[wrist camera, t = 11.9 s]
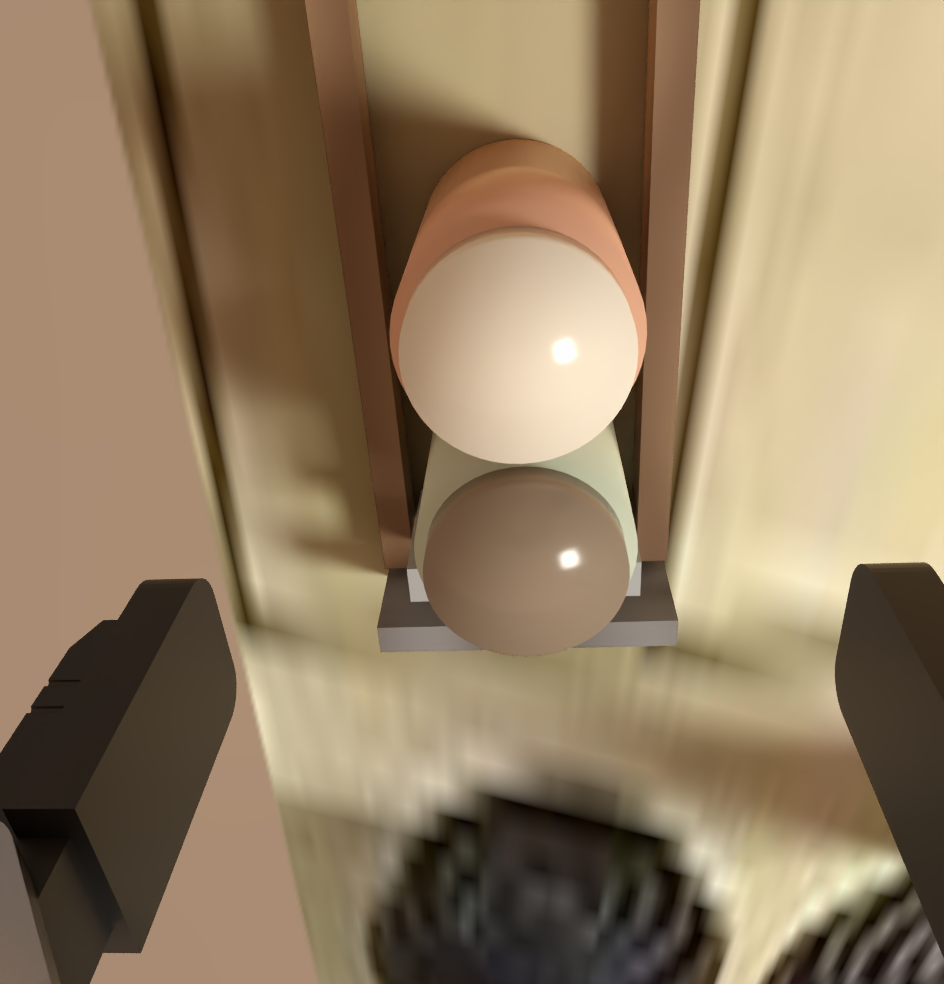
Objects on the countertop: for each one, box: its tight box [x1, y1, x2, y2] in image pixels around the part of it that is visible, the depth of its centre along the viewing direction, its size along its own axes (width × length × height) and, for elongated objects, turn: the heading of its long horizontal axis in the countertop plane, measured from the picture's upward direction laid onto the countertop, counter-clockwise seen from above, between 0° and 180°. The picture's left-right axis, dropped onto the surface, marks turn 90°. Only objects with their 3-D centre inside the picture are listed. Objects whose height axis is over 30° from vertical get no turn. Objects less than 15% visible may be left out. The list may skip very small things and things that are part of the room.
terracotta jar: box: [389, 139, 647, 464], centre depth 21 cm, size 5×5×9 cm
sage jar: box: [414, 421, 638, 656], centre depth 24 cm, size 5×5×9 cm
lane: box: [305, 0, 700, 652], centre depth 25 cm, size 9×20×4 cm, turn 4°
